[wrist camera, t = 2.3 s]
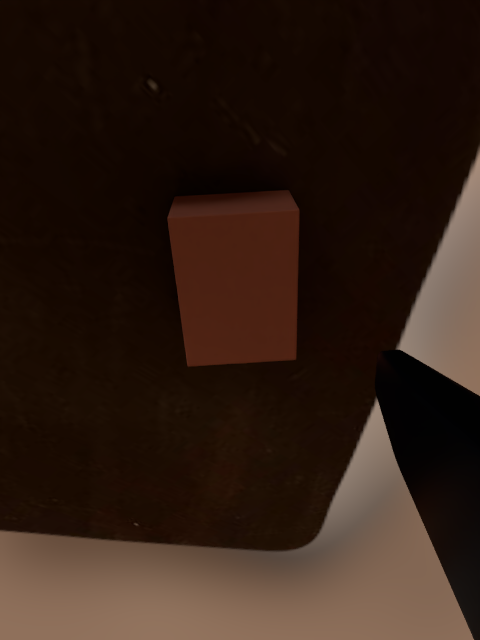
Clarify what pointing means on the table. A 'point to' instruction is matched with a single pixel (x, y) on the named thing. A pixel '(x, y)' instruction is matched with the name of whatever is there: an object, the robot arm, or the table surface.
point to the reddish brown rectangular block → (236, 275)
